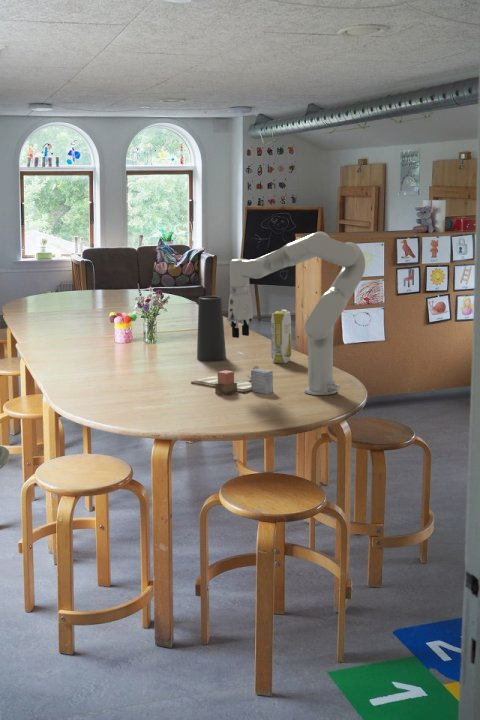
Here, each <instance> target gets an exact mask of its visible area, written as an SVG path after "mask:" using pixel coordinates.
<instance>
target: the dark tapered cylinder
mask: <svg viewBox="0 0 480 720" xmlns="http://www.w3.org/2000/svg"><path fill="white" fill-rule="evenodd" d="M197 305H198V307H197V310H198V312H197V313H198V314H197V344H196V346H197V348H196V349H197V350H196V360H198V361H202V362H218V361H224V360H226V359H227V352H226V351H227V350H226V339H225V338H226V337H225V328H224V327H225V325H224V314H223V299H222V297H221V296H217V295H204V296H200V297H198V304H197Z"/></svg>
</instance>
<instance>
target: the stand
mask: <svg viewBox="0 0 480 720" xmlns="http://www.w3.org/2000/svg"><path fill="white" fill-rule="evenodd" d="M214 389H215V394H217V395H221V396H230V395H234V394H237V393H238V392H237V383H235V382H234V383H232V384H228V385H224V384H219V383H215V388H214Z"/></svg>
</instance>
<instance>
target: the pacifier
mask: <svg viewBox="0 0 480 720" xmlns="http://www.w3.org/2000/svg"><path fill="white" fill-rule="evenodd" d="M255 369H260V367H259V366H257V365H254V366H253V367H252V370H255ZM247 378H249V379H250V380H249V381H250V382H251V375H250V376H249V375H247Z"/></svg>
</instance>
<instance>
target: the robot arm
mask: <svg viewBox="0 0 480 720" xmlns="http://www.w3.org/2000/svg"><path fill="white" fill-rule="evenodd" d="M314 258H318V259H321V260H324V261H326V262H329V263H331V264H335V265H337V266H340V267H341V270H340V271H339V273H338V274H337V276H336V277H335V279H334V281H333V283H332V284H331V286H330V287H329V289H328V290H326V291H325V292H324V293H323V294H322V295H321V297H320V299H319V300H318V301H317V303H316V305H315V306H314V307H313V309H312V311H311V312H310V314H309V316H308V318H307V319H306V320H305V322H304V332H305V335H306V336H307V337H308V345H307V348H308V349H307V350H308V352H307V353H308V354H307V358H308V360H307V367H308V368H307V369H308V370H307V371H308V372H307V381H308V382H307V385H308V386H306V387H304V393H305V394H308V395H312V396H329V395H333V394H336V393H337V392H338V391H340V389H341V385H340V384H336V381H335V380H333V379H334V376H333V375H334V373H333V372H334V370H333V369H334V368H333V367H334V358H333V357H334V333H335V332H334V331H335V323H336V322H337V321H338V319H339V317H340V316H341V315H342V312H344V310H345V309H346V307H347V304H348V302H349V301H350V299H351V297H352V296H353V294H354V293H355V291H356V289H357V288H358V285H359V284H360V282H361V280H362V278H363V276H364V273H365V269H366V259H365V255H364V253H363V251H362V249H361V248H360V246H359V245H358V244H356V243H354V242H351V241H347V242H342V241H340V240H338V239H337V240H336V239H334V238H333V237H330V235H328V233H327V232H324V231H316V232H313V233H311V234H308V235H306V236H304V237H302V238H299V239H296V240H294V241H292V242H289V243H286V244H285V245H283V246H282V247H280V248H279V249H276V250H274V251H271V252H270V253H267V254H265V255H262V256H260V257H257V258H254V259H246V258H234V259H231V260H230V262H229V285H230V286H229V293H230V294H229V296H228V307H227V308H228V312H227V313H228V315H227V318H226V322H227V323H228V324H229V325H230V328H231V337H232V338H235V339H239V338H240V328H239V323H240V321H242V325H241V334H242V336H245V337H249V336H250V326H251V321H252V320H253V319H254V308H253V307H254V306H253V305H254V304H253V299H252V294H251V292H250V279H255V280H256V279H262V278H263V277H265V276H268V275H270V274H273V273H275V272H277V271H280V270H282V269H285V268H289V267H295V266H296V265H299V264H301V263H303V262H306V261H308V260H311V259H314Z"/></svg>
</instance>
